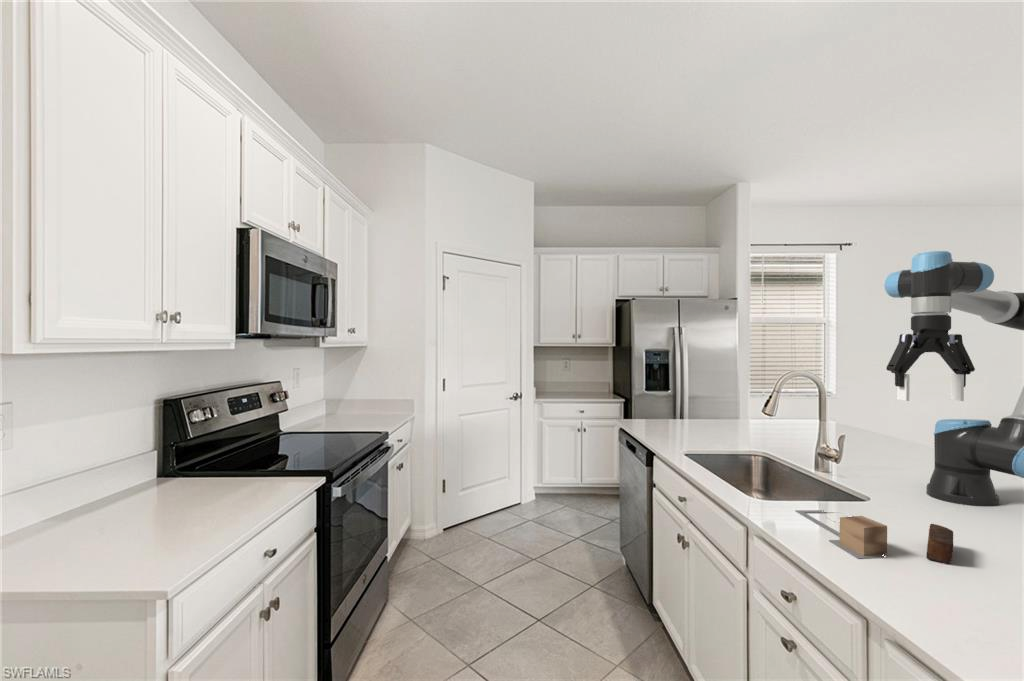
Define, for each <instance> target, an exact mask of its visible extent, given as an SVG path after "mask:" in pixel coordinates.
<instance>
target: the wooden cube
mask: <svg viewBox="0 0 1024 681" xmlns="http://www.w3.org/2000/svg"><path fill="white" fill-rule="evenodd" d="M839 519H840V522H839V524H840V525H839V533H840V537H839V540H840V541H839V544H841V545H843V546H845V547H847V548H849V549H851V550H853V551H855V552H857V553H859V554H861V555H863V556H866V555H877V554H885V553H886V554H888V525H885V524H883V523H882V522H879V521H876V520H874V519H871V518H869V517H866V516H863V515H856V516H855V515H853V516H852V517H848V516H841V517H839ZM886 554H885V555H886Z"/></svg>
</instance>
